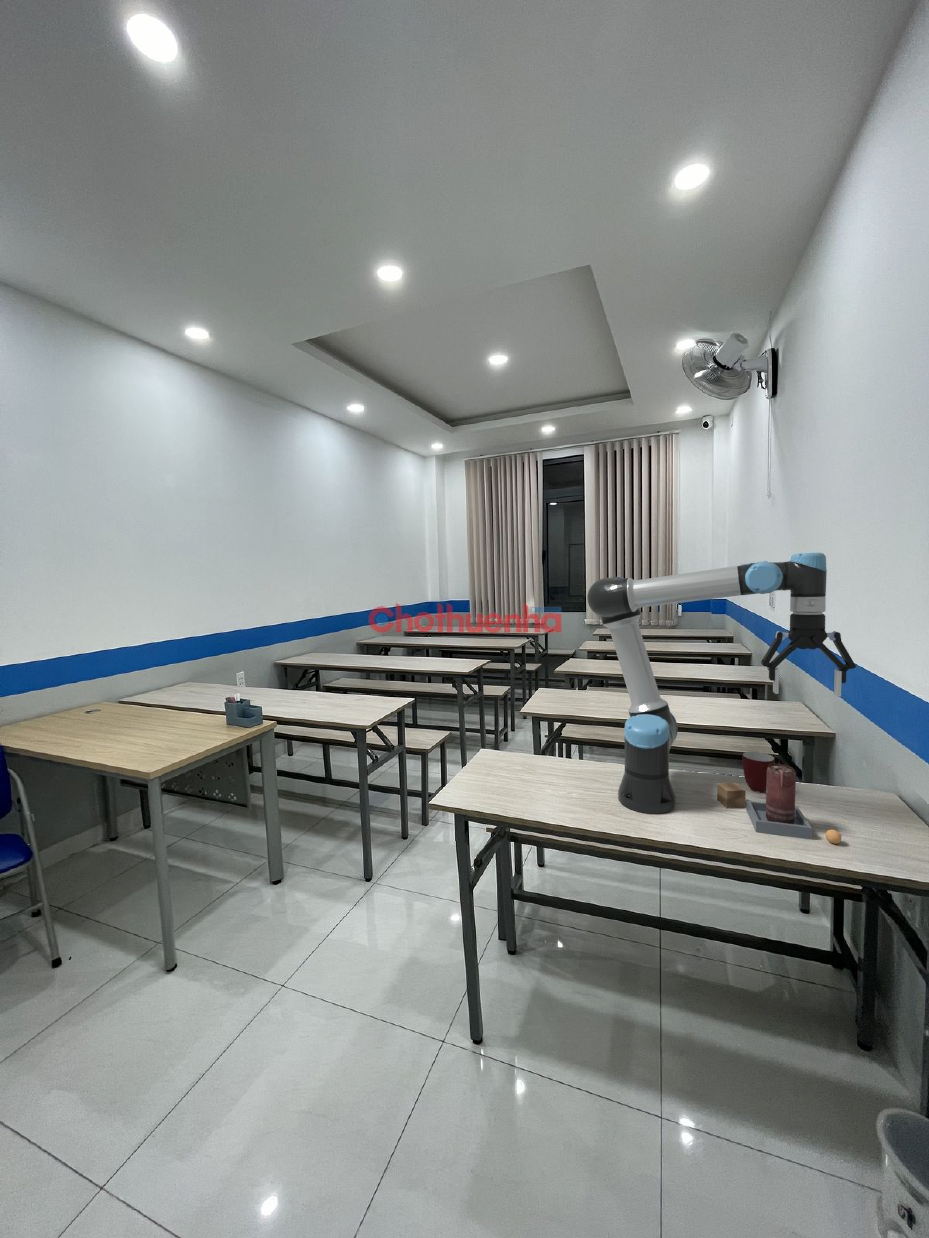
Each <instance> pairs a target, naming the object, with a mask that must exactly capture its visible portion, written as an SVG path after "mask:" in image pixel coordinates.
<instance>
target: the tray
mask: <svg viewBox="0 0 929 1238" xmlns="http://www.w3.org/2000/svg"><path fill="white" fill-rule="evenodd" d="M746 812H747V815H748V817H749V820H750V823H751V824H752V826H753V828H754V831H755V833H760V834H769V835H776V836H782V837H791V838H798V839H805V840H812V839H813V827H812V826H811V824H810V823H809V821H808V820H807V818H806V817H805V815H804V814H803V812H802V811H801V809H800V808H799V806H798V805H795V821H794V824H787V823H779V822H771V821H768V820H767V818H766V802H763V801H762V802H761V801H754V800H746Z"/></svg>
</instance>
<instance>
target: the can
mask: <svg viewBox="0 0 929 1238" xmlns="http://www.w3.org/2000/svg"><path fill="white" fill-rule="evenodd" d="M796 780H797V772H796V771H795V769H794V768H793V767H792V766H789V765H785V764H781V763H775V764H770V765H769V767H768V768H767V783H766V791H765V792H766V793H765V803H766V818H767V820H768V821H771V822H779V823H787V824H794V821H795V806H796V787H797V785H796Z"/></svg>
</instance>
